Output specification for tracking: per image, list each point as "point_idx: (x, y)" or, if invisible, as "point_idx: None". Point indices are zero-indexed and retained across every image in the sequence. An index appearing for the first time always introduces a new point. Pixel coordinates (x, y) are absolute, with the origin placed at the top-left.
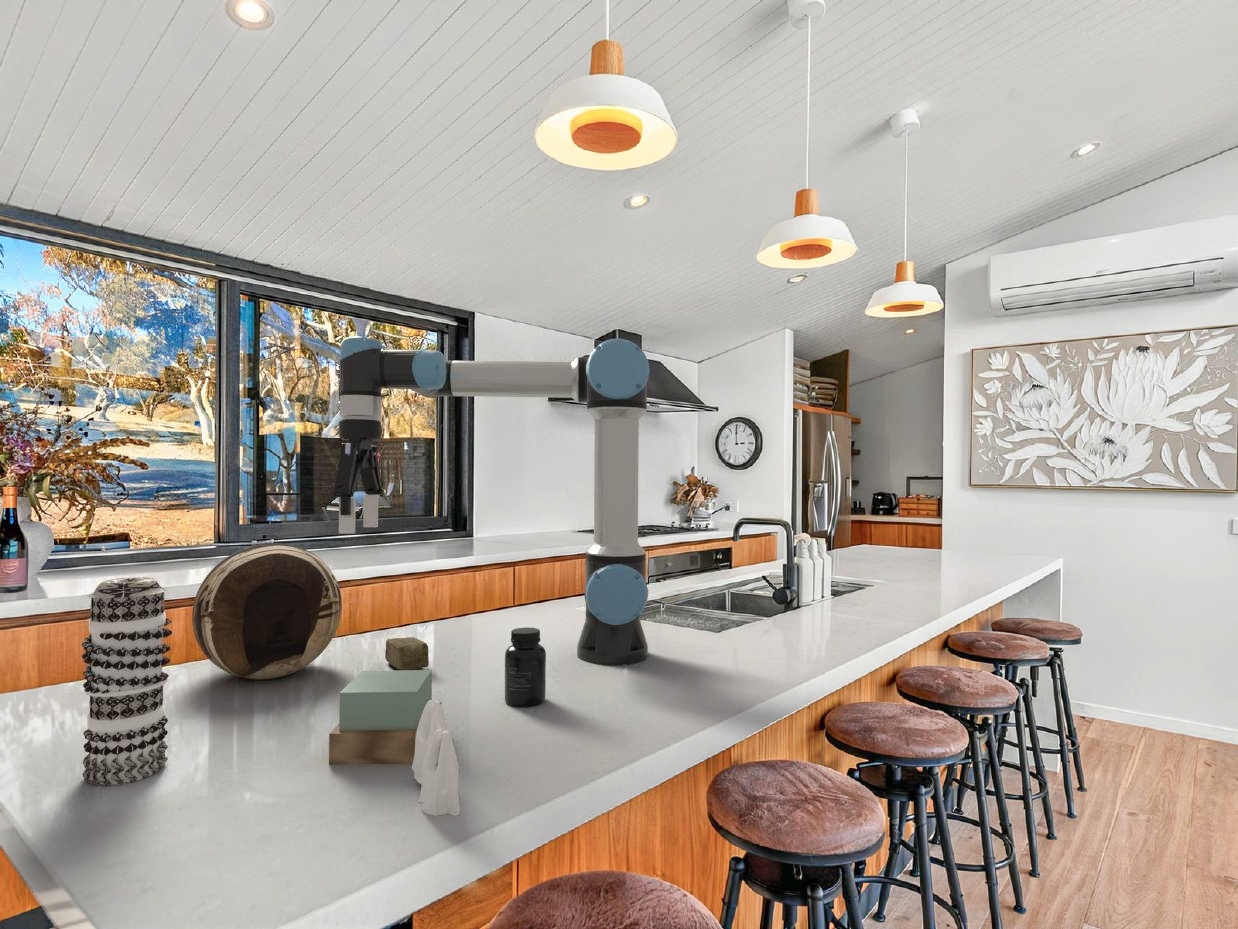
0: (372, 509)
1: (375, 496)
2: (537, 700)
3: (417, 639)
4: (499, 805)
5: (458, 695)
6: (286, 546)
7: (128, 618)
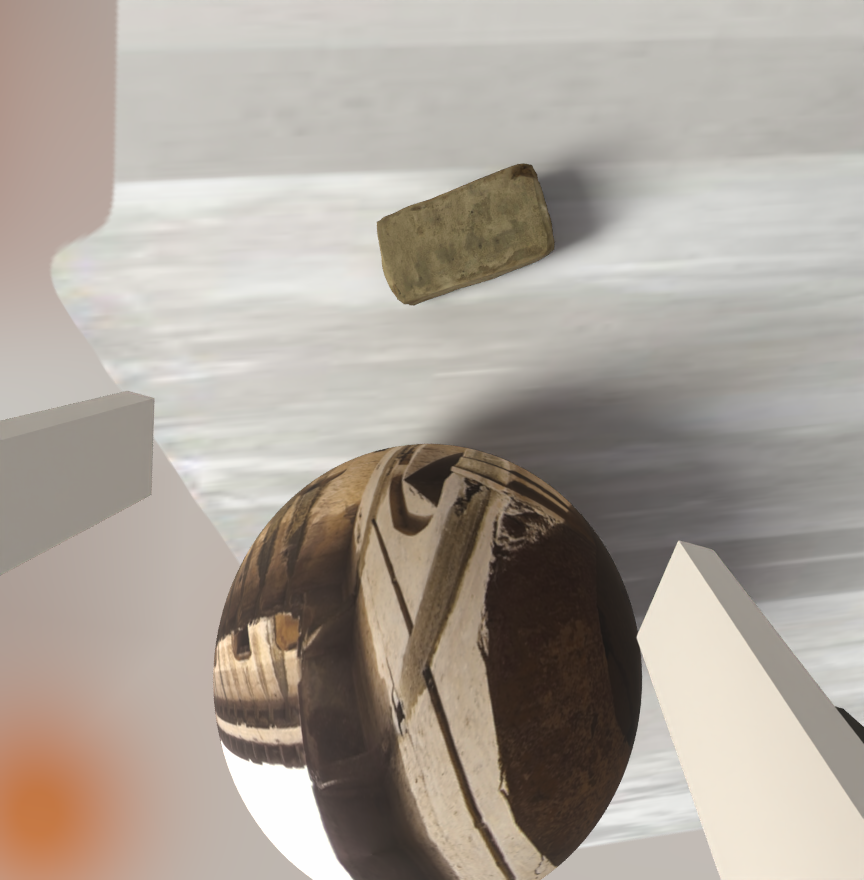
0: (13, 483)
1: None
2: None
3: (434, 203)
4: None
5: (774, 78)
6: (413, 792)
7: None
